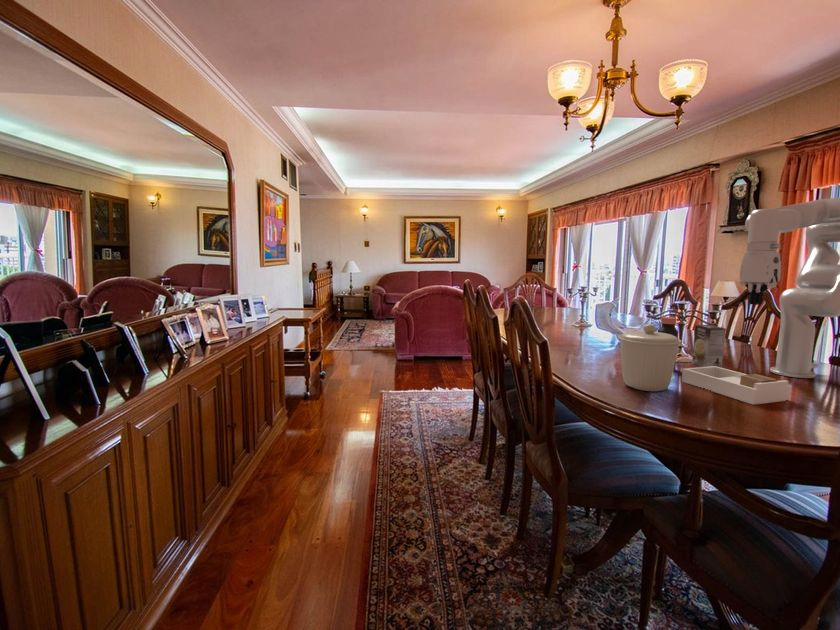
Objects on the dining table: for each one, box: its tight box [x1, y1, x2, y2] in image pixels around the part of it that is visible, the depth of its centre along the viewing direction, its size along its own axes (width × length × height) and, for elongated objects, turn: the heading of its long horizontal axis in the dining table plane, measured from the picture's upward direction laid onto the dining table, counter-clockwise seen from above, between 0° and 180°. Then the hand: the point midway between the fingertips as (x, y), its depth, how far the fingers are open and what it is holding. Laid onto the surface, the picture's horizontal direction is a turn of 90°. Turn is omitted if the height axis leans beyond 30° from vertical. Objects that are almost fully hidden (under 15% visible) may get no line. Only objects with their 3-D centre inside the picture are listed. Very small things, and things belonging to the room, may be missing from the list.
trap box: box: [681, 366, 791, 405], centre depth 133 cm, size 14×24×6 cm, turn 15°
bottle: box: [657, 316, 679, 372], centre depth 158 cm, size 7×7×20 cm
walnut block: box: [740, 373, 778, 388], centre depth 125 cm, size 6×6×4 cm
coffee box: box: [691, 324, 727, 368], centre depth 162 cm, size 9×6×16 cm
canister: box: [617, 323, 683, 392], centre depth 135 cm, size 18×18×21 cm
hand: (755, 304), depth 136 cm, fingers closed
